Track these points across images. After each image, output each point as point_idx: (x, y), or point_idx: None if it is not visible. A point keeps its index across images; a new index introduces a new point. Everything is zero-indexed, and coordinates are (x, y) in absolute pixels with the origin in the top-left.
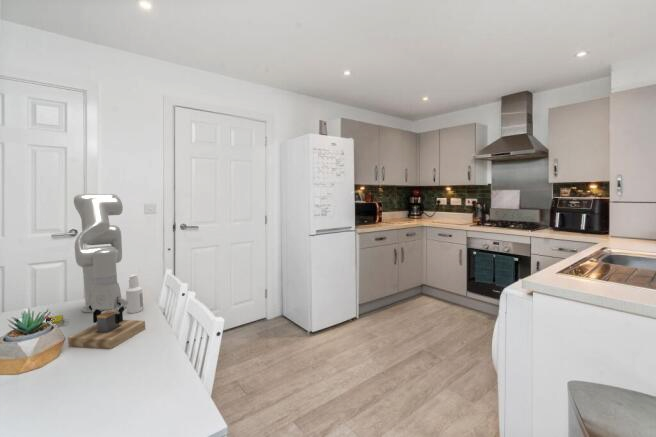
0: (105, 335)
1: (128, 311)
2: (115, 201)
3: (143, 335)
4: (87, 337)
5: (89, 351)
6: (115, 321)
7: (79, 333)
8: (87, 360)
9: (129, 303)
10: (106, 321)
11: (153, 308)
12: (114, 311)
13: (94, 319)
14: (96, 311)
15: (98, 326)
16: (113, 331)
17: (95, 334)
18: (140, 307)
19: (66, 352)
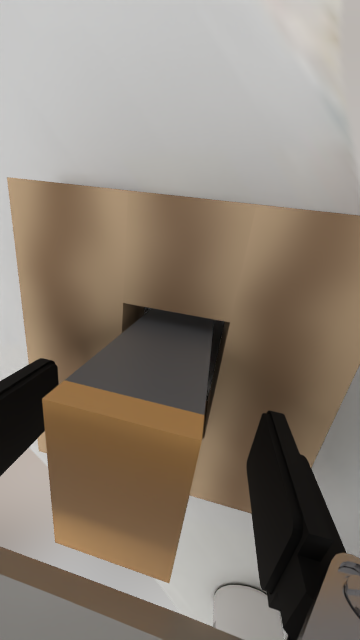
0: (104, 259)
1: (264, 602)
2: None
3: (25, 348)
4: (222, 223)
5: (163, 156)
6: (34, 368)
7: (354, 313)
8: (79, 8)
9: None
10: (93, 360)
11: (179, 598)
12: (73, 529)
13: (277, 437)
14: (296, 585)
15: (200, 351)
16: (99, 325)
17: (194, 282)
18: (215, 618)
19: (322, 132)
